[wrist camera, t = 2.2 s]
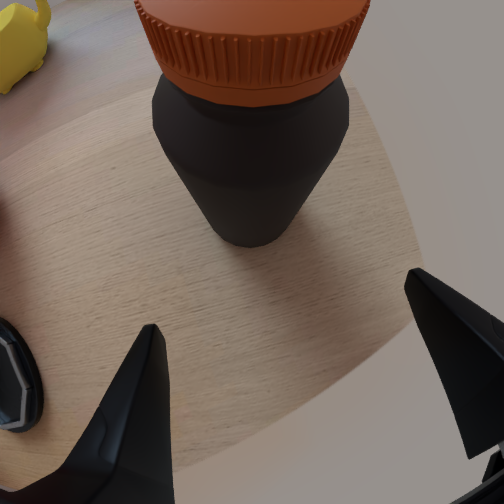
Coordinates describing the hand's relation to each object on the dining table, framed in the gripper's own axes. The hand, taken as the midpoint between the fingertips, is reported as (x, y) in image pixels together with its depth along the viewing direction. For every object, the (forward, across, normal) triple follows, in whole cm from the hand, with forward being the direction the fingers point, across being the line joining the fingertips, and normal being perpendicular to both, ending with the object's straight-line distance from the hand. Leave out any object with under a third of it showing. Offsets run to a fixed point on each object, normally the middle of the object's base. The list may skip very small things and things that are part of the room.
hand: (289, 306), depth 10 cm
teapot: (+34, +25, -15) cm, 45 cm away
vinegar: (+14, 0, +5) cm, 15 cm away
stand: (+6, +29, +13) cm, 32 cm away
